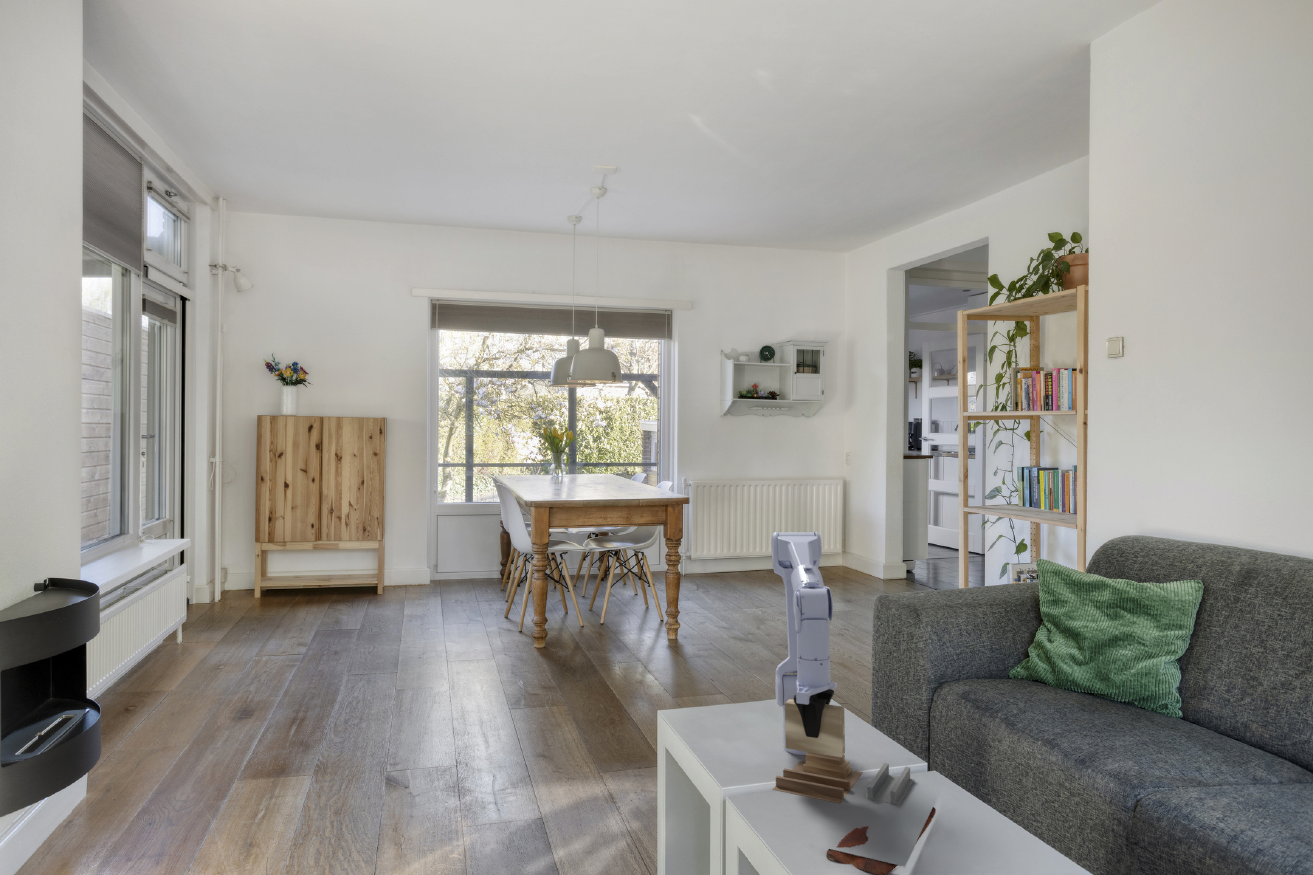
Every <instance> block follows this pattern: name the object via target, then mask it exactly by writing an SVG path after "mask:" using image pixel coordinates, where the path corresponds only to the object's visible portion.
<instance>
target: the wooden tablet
mask: <svg viewBox="0 0 1313 875" xmlns="http://www.w3.org/2000/svg"><path fill="white" fill-rule="evenodd" d="M936 811H937V808H936V807H934V806H933V807H932V808H931V811H930V812H929V814H928V815H927V818H926V820H925V823H924V825H923V827H922V829H921V831H920V833H919V835H918V838H917V839H916V842H915V844H917V842H918V841H919V840H920V838H921V837H922V835H923V834H924V833H925V832H926V830H927V828H928V826H929V825H930V824H931V822H932V820H933V819H934V817H935V814H936ZM869 826H870V825H867V826H862V827H855V828H854V829H852V830H851V831H850V832H848V833H847V834H846V835H845V836H844V837H843V838H842V839H840V841H839V843H838V844H837V846H836V849H837V848H849V849H850V848H852V847H857V846H859V847H860V846H862V845H865V844H867V843H868V841H869V836H867V832H868V830H869V829H870V828H869ZM836 849H833V848H828V850H826V859H828V860H829V861H832V862H834V863H839V864H844V865H852V866H853V867H855V868H856V869H858V870H860V871H862V872H864V873H867V874H870V875H888V874H890V873H891V872H892V871H893V870H894V869H895V868H897V867H898V866H899V864H897V863H896V864H895V863H893V862H892V863H891V862H886V861H884V860H883V861H882V860H878V859H876V858H870V857H867V856H863V855H862V856H861V855H857V854H853V853H849V852H844V851H840V850H836Z"/></svg>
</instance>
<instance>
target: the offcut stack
mask: <svg viewBox="0 0 1313 875" xmlns="http://www.w3.org/2000/svg"><path fill="white" fill-rule="evenodd" d="M804 756H805V757H804V758H805V759H804V760H805V763H804V765H803V771H807V772H812V773H818V774H823V775H828V776H834V777H839V778H844V779H846V777H847V776H848V775H849V774H850V772H851V770H852V768H851V767H852V766H850V761H849V760H845V759H846V758H845V757H846V756H845V754H844V755H843V756H842V757H836V756H830V755H824V754H818V753H812V752H808V753H807V754H806V755H804Z"/></svg>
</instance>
